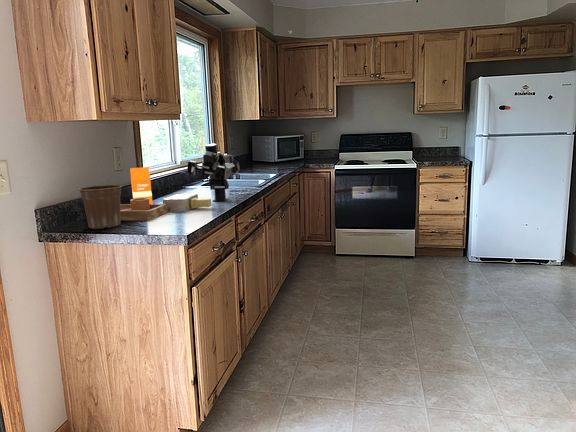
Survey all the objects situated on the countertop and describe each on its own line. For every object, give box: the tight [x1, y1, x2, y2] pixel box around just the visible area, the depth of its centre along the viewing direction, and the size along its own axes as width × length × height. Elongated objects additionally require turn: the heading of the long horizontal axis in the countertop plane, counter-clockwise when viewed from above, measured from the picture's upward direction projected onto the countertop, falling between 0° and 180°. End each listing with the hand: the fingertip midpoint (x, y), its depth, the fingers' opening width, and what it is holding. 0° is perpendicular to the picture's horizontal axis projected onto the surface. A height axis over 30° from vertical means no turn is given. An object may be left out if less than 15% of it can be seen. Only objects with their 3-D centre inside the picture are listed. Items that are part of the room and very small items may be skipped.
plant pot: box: [78, 184, 123, 230], centre depth 182 cm, size 16×16×16 cm
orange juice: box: [130, 166, 154, 204], centre depth 223 cm, size 8×9×20 cm
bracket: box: [120, 198, 150, 211], centre depth 202 cm, size 18×8×7 cm, turn 145°
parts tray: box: [120, 203, 169, 221], centre depth 203 cm, size 17×26×4 cm, turn 80°
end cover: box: [190, 197, 212, 209], centre depth 216 cm, size 5×16×4 cm, turn 80°
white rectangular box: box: [162, 193, 199, 213], centre depth 217 cm, size 16×11×6 cm
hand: (201, 175), depth 210 cm, fingers open, 9 cm apart
